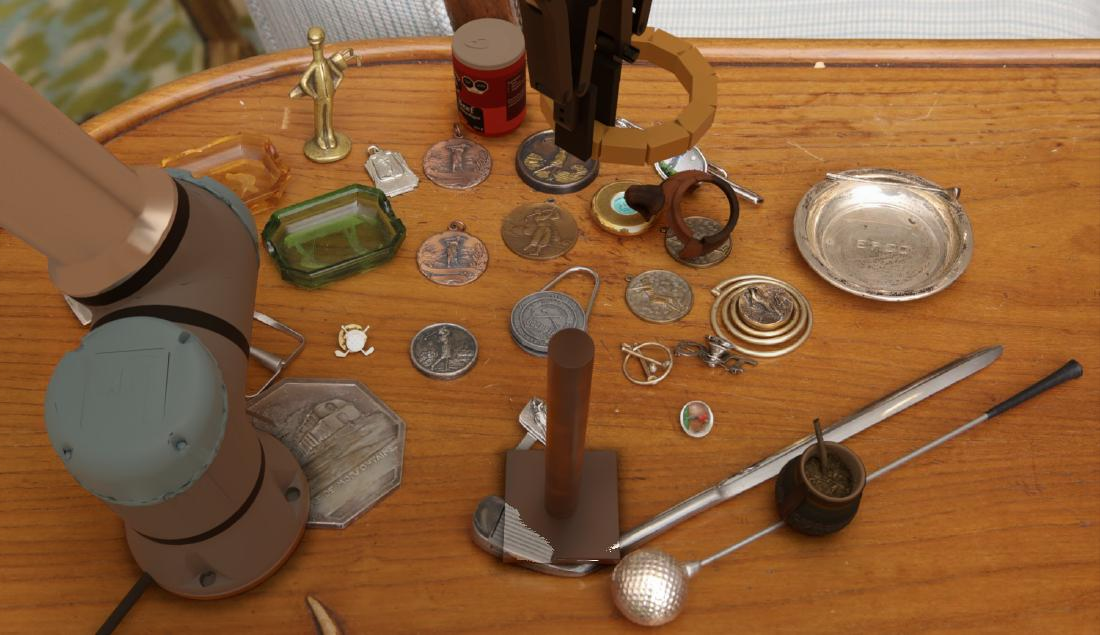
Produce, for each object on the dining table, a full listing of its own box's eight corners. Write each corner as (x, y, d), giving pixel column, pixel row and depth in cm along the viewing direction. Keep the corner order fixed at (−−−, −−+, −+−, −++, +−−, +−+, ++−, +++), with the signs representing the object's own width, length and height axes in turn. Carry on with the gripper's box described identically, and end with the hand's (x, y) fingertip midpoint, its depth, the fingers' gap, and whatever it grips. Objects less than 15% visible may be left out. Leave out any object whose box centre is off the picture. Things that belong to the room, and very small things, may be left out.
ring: (653, 192, 63) (656, 174, 61) (507, 113, 66) (506, 94, 65) (744, 89, 68) (749, 70, 67) (604, 21, 72) (606, 2, 71)
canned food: (451, 99, 109) (443, 25, 99) (515, 86, 110) (513, 11, 101) (467, 145, 105) (460, 72, 95) (534, 131, 106) (534, 57, 97)
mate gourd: (802, 561, 79) (834, 520, 71) (749, 489, 83) (773, 443, 74) (866, 520, 81) (904, 476, 73) (811, 452, 85) (841, 402, 76)
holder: (503, 563, 79) (488, 418, 55) (506, 455, 84) (495, 281, 61) (619, 564, 79) (654, 420, 55) (615, 457, 84) (646, 283, 61)
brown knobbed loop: (716, 187, 103) (750, 169, 95) (709, 270, 101) (744, 259, 94) (614, 170, 100) (641, 150, 92) (607, 255, 99) (633, 243, 91)
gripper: (577, -99, 40) (561, 231, 60) (754, -233, 47) (687, 104, 67) (449, -160, 43) (474, 176, 63) (634, -280, 49) (604, 59, 69)
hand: (584, 139), depth 65 cm, fingers closed on ring, 2 cm apart
